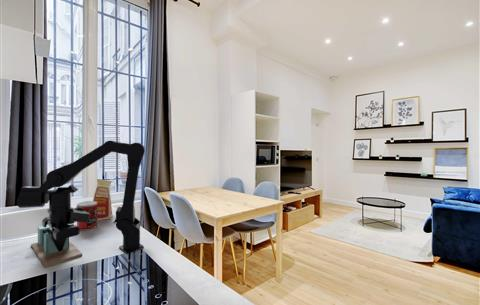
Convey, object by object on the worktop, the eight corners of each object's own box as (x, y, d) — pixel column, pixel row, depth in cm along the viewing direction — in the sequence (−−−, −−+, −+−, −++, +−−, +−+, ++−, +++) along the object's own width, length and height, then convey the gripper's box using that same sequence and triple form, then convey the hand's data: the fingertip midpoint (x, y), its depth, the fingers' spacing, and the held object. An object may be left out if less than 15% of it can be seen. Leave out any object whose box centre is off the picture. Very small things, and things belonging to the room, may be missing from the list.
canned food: (90, 230, 100) (90, 206, 100) (72, 229, 100) (72, 205, 100) (101, 224, 108) (101, 201, 107) (84, 223, 108) (84, 200, 107)
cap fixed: (61, 240, 88) (61, 224, 88) (40, 245, 83) (39, 229, 83) (59, 237, 90) (59, 222, 90) (37, 242, 85) (37, 226, 85)
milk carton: (91, 220, 112) (91, 180, 111) (93, 215, 120) (93, 177, 119) (112, 218, 116) (112, 179, 115) (113, 213, 124) (113, 176, 123)
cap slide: (69, 248, 82) (69, 230, 82) (46, 254, 77) (46, 236, 77) (66, 245, 84) (66, 228, 84) (43, 251, 79) (43, 233, 79)
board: (82, 255, 79) (82, 253, 79) (44, 267, 71) (44, 265, 71) (64, 237, 92) (64, 235, 92) (31, 246, 84) (31, 243, 84)
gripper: (97, 206, 78) (97, 251, 78) (78, 196, 89) (78, 236, 90) (56, 213, 69) (56, 264, 70) (41, 202, 81) (42, 245, 81)
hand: (60, 250), depth 78 cm, fingers closed
